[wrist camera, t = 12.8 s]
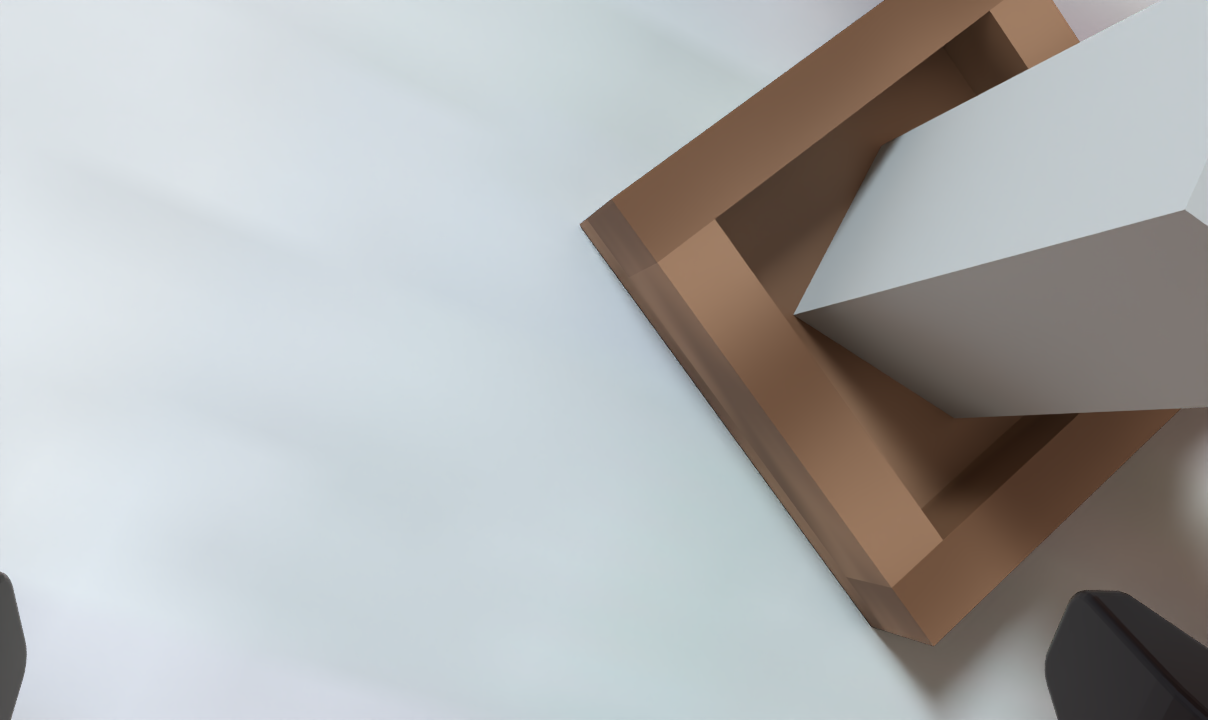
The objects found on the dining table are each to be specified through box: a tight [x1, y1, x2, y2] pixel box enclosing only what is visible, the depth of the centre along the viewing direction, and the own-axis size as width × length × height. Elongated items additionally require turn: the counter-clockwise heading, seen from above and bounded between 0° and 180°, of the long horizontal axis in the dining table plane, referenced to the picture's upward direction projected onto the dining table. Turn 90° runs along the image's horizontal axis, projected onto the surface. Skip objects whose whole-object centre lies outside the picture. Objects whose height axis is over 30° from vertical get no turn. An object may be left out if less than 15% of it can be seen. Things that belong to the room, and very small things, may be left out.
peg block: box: [794, 0, 1208, 418], centre depth 19 cm, size 4×4×11 cm
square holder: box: [580, 0, 1181, 646], centre depth 24 cm, size 11×11×2 cm
